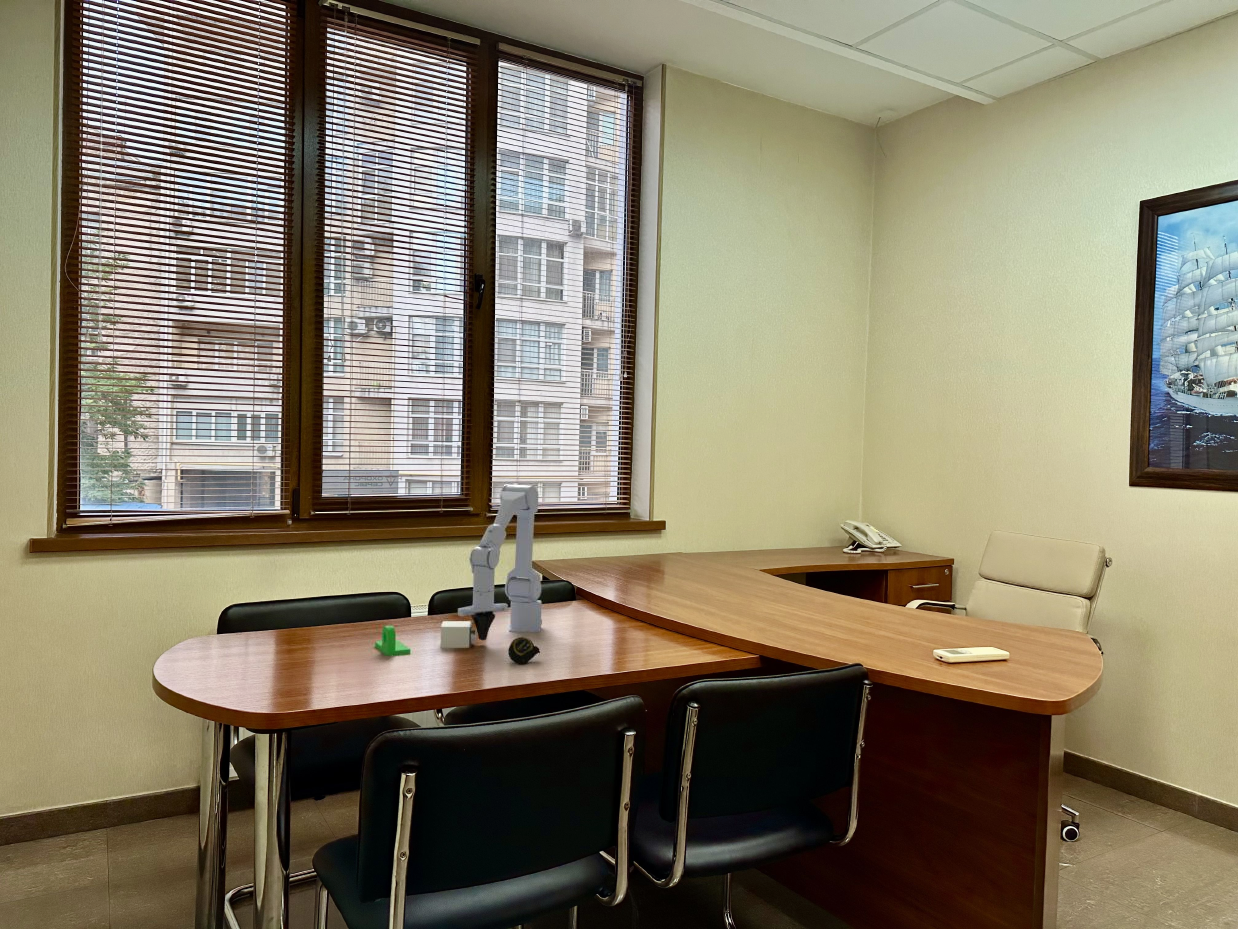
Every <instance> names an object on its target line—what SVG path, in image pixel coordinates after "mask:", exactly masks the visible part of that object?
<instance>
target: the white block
mask: <svg viewBox="0 0 1238 929" xmlns="http://www.w3.org/2000/svg"><path fill="white" fill-rule="evenodd" d="M440 626H441V627H440V649H467V648H468V649H469V648H471V647H472V643H471V629H473V622H471V621H470V620H466V621H465V620H464V621H462V620H457V621H456V620H455V621H454V620H450V621H447V620H446V621H445V620H443V621H442V623H441V625H440Z"/></svg>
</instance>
